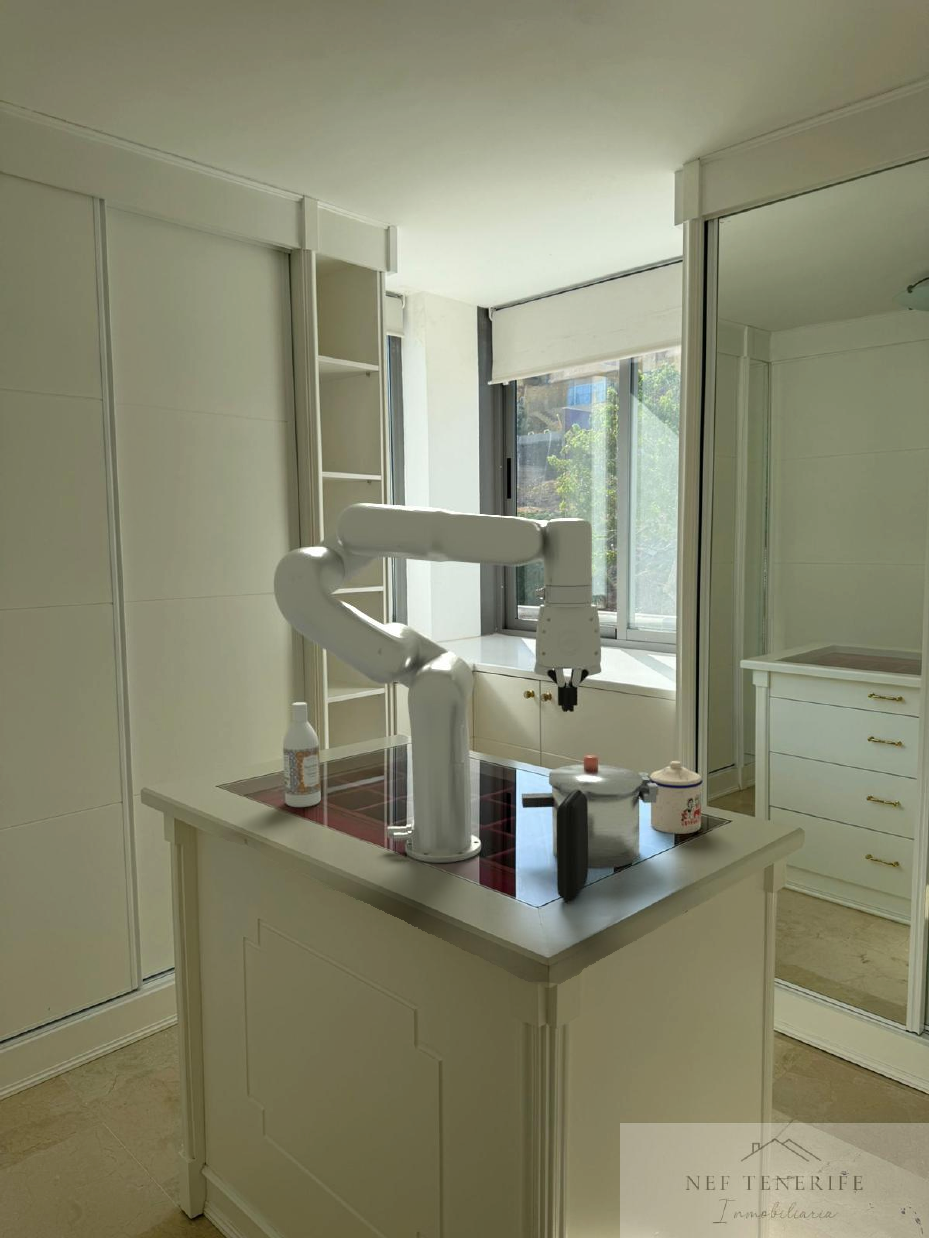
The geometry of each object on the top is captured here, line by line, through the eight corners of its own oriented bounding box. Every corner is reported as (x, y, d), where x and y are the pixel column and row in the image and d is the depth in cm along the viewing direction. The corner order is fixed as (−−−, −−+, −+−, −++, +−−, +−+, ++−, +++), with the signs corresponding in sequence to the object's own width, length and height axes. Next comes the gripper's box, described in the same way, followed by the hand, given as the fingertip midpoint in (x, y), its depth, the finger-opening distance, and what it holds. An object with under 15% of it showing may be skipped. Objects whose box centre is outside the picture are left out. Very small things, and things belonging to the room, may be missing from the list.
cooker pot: (527, 870, 139) (525, 795, 138) (519, 839, 153) (518, 771, 151) (662, 866, 139) (662, 791, 138) (643, 836, 153) (643, 767, 152)
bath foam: (298, 810, 172) (294, 708, 170) (278, 803, 177) (274, 703, 175) (327, 802, 177) (324, 702, 175) (307, 795, 182) (304, 698, 180)
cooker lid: (554, 796, 137) (555, 776, 137) (544, 771, 152) (544, 752, 152) (658, 796, 137) (659, 776, 137) (638, 771, 152) (638, 752, 152)
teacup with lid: (690, 838, 152) (690, 771, 150) (640, 828, 157) (640, 764, 156) (715, 819, 161) (716, 756, 160) (668, 811, 167) (668, 750, 165)
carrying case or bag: (572, 877, 135) (571, 783, 134) (592, 880, 134) (591, 784, 133) (554, 905, 125) (553, 803, 124) (576, 908, 124) (574, 805, 123)
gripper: (522, 598, 138) (523, 715, 140) (619, 597, 138) (618, 714, 140) (519, 595, 145) (519, 706, 147) (610, 594, 146) (609, 705, 147)
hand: (567, 709), depth 144 cm, fingers closed
